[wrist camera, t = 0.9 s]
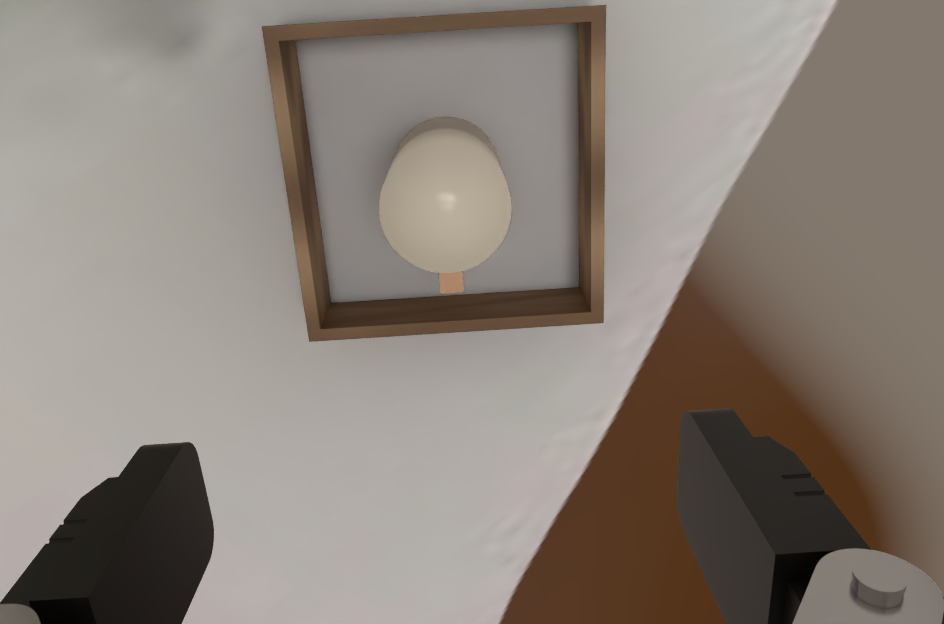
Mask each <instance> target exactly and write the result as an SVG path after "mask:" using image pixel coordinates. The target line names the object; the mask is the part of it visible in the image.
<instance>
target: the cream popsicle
mask: <svg viewBox="0 0 944 624" xmlns="http://www.w3.org/2000/svg"><path fill="white" fill-rule="evenodd" d="M511 214H512V204H511V196H510V192H509V188H508V185H507V182H506V180H505V177H504V174H503V171H502V168H501V165H500V162H499V159H498V156H497V153H496V150H495V148H494V146H493V144H492V142H491V141H490V139H489V138H488V137H487V135H486V134H485V133H484V132H483V131H482V130H480V129H479V128H478V127H477V126H475V125H473V124H472V123H470V122H467V121H465V120H462V119H459V118H453V117H439V118H433V119H430V120H427V121H425V122H422V123H421V124H419V125H417V126H416V127H414V128H413V129H412V130H411V131H410V132H409V133H408V134H407V135H406V136H405V137H404V139H403V140H402V141H401V143H400V145H399V147H398V149H397V152H396V154H395V157H394V159H393V162H392V164H391V166H390V169H389V171H388V174H387V176H386V179H385V181H384V184H383V186H382V189H381V193H380V198H379V217H380V223H381V226H382V229H383V232H384V234H385V236H386V238H387V240H388V242H389V243H390V245H391V246H392V247H393V249H394V250H395V251H396V252H397V253H398V254H399V255H400V256H401V257H402V258H403V259H405V260H406V261H408V262H409V263H411V264H412V265H414V266H416V267H418V268H421V269H423V270H427V271H430V272H436V273H439V279H440V292H441V294H444V293H460V292H464V285H463V271H465V270H468V269H470V268H473V267H475V266H477V265H479V264H481V263H482V262H484V261H485V260H486V259H488V258H489V257H490V256H491V255H492V254H493V253H494V252H495V251H496V250H497V249H498V247H499V246H500V245H501V243H502V241H503V240H504V238H505V236H506V234H507V231H508V228H509V225H510V221H511Z"/></svg>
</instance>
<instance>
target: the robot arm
mask: <svg viewBox="0 0 944 624" xmlns="http://www.w3.org/2000/svg"><path fill="white" fill-rule="evenodd" d="M680 428H681V429H680V449H679V467H678V468H679V469H678V487H677V499H678V509H679V515H680V520H681V524H682V527H683V529H684V532H685V534H686V537H687V539H688V541H689V543H690V545H691V548H692V550H693V552H694V554H695V556H696V559H697V561H698V563H699V565H700V567H701V569H702V572H703V574H704V576H705V578H706V581H707V583H708V585H709V587H710V589H711V592H712V594H713V596H714V598H715V600H716V603H717V605H718V607H719V609H720V611H721V613H722V616H723V618H724V620H725V622H726V624H944V597H943V595H942V593H941V592H940V590H939V588H938V587H937V585H936V584H935V583H934V582H933V580H932V579H930V578H929V577H928V576H927V575H926V574H925V573H924V572H922V571H921V570H919V569H918V568H917V567H915V566H913V565H912V564H910V563H908V562H906V561H904V560H902V559H900V558H897V557H895V556H892V555H889V554H886V553H883V552H879V551H874V550H871V549H870V547H869V546H868V545H867V544H866V542H865V541H864V540H863V539H862V537H861V536H860V535H859V534H858V532H857V531H856V530H855V528H854V527H853V526H852V525H851V523H850V522H849V521H848V520H847V518H846V517H845V516H844V515H843V513H842V512H841V511H840V510H839V508H838V507H837V506H836V504H835V503H834V502H833V501H832V499H831V498H830V497H829V496H828V495H825V493H824V489H823V488H822V487H821V485H820V484H819V483H818V482H817V480H816V479H815V478H814V477H811V473H810V472H809V470H808V469H807V468H806V467H805V465H804V464H803V463H802V461H801V460H800V459H799V458H798V456H797V455H796V454H795V453H794V452H792V451H791V450H789V449H788V448H786V447H784V446H783V445H781V444H779V443H778V442H776V441H775V440H773V439H771V438H770V437H768V436H765V437H753V436H752V435H751V434H750V432H749V431H748V429H747V428H746V427H745V425H744V424H743V422H742V421H741V420H740V418H739V417H738V415H737V414H736V413H735V412H734V410H732V409H729V408H727V409H713V410H696V411H686V412H684V413H683V415H682V419H681V427H680ZM49 540H50V541H49V544H45V545H44V547H43V548H42V549H41V550H40V552H39V553H38V554H37V556H36V557H35V558H34V560H33V561H32V562H31V563H30V565H29V566H28V567H27V569H26V570H25V571H24V573H23V574H22V575H21V576H20V578H19V579H18V580H17V582H16V583H15V584H14V586H13V587H12V588H11V589H10V591H9V592H8V593H7V595H6V596H5V597H4V599H3V600H2V601H1V602H0V624H182V622H183V619H184V617H185V615H186V613H187V610H188V608H189V606H190V604H191V601H192V599H193V597H194V595H195V592H196V590H197V588H198V586H199V583H200V581H201V579H202V577H203V574H204V572H205V570H206V568H207V565H208V563H209V561H210V558H211V554H212V549H213V541H214V527H213V520H212V515H211V511H210V506H209V502H208V497H207V493H206V488H205V484H204V479H203V475H202V471H201V466H200V462H199V457H198V454H197V451H196V448H195V447H194V445H193V444H192V443H190V442H185V443H169V444H154V445H143V446H141V447H140V448H139V449H138V450H137V452H136V453H135V455H134V456H133V457H132V459H131V460H130V461H129V463H128V464H127V466H126V467H125V468H124V470H123V471H122V473H121V474H120V475H119V477H114V478H108V479H106V480H105V481H104V482H102V483H101V484H100V485H98V486H97V487H95V488H94V489H93V490H91V491H90V492H89V493H87V494H86V495H84V496H83V497H82V498H81V499H80V500H79V501H78V502H77V504H76V505H75V506H74V508H73V509H72V510H71V512H70V513H69V514H68V515H67V517H66V518H65V519H64V524H63V525H60V526H59V527H58V528H57V530H56V531H55V532H54V534H53V535H52V536H51V537H50V539H49Z"/></svg>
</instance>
